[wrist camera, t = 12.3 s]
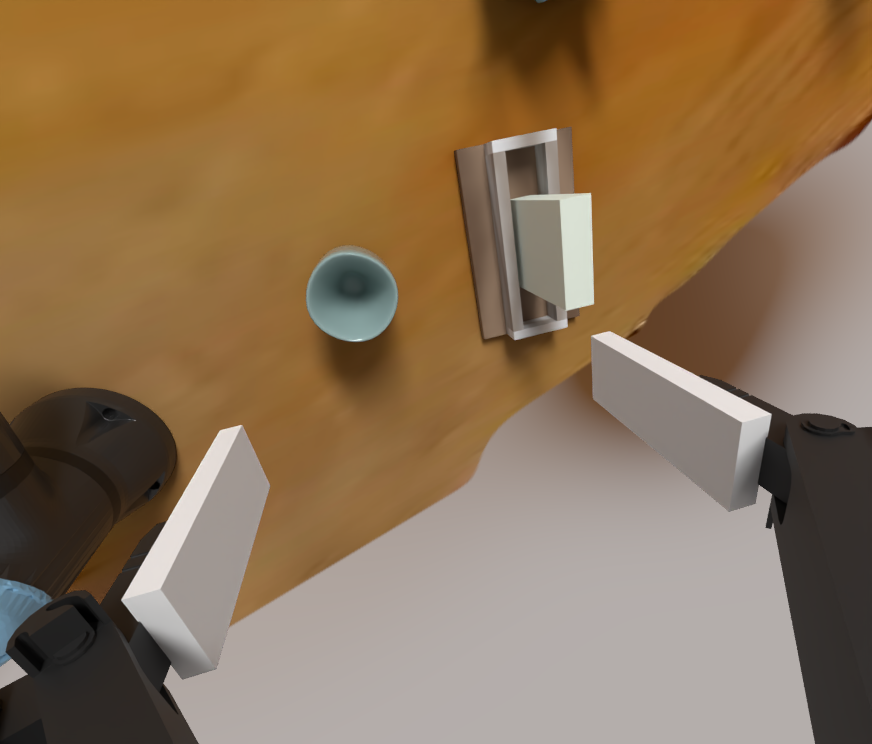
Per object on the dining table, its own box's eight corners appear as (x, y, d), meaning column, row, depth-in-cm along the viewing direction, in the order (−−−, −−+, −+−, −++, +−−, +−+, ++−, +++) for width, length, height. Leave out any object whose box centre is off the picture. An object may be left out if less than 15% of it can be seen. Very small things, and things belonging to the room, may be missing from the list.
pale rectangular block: (516, 284, 46) (566, 310, 35) (507, 200, 42) (559, 200, 32) (539, 279, 46) (596, 303, 35) (532, 194, 43) (593, 192, 32)
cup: (400, 259, 44) (413, 275, 35) (373, 324, 46) (378, 355, 37) (330, 227, 41) (323, 235, 32) (305, 298, 43) (292, 323, 34)
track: (482, 336, 49) (491, 346, 46) (454, 151, 41) (462, 146, 37) (575, 313, 50) (590, 321, 47) (566, 128, 42) (584, 122, 39)
